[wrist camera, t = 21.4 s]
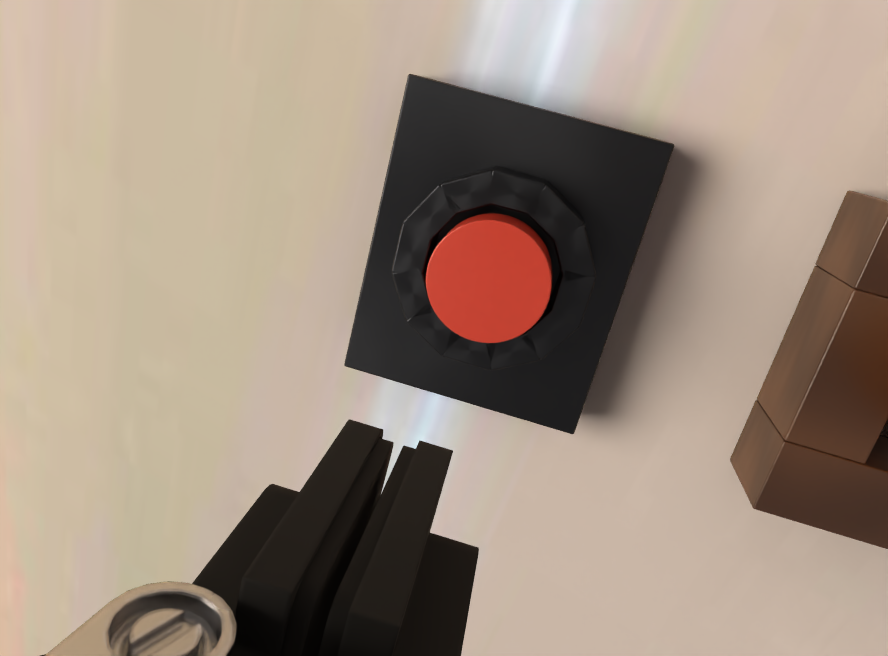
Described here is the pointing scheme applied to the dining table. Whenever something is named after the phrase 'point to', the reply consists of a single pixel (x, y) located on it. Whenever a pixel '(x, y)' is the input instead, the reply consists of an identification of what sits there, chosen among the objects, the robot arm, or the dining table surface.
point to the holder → (829, 391)
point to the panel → (520, 196)
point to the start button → (490, 278)
